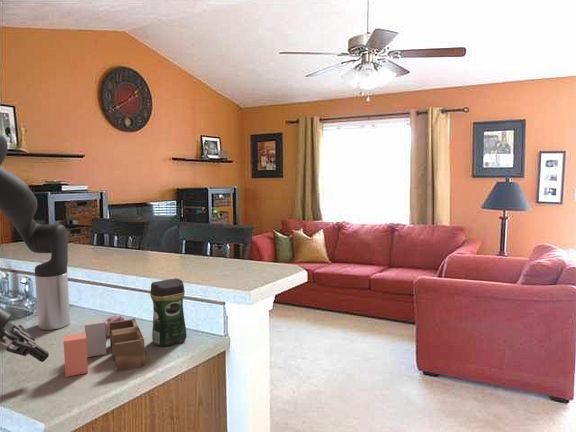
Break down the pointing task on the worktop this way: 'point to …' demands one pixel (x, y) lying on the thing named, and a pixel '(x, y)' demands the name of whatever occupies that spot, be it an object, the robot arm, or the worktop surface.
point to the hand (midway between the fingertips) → (46, 357)
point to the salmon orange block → (75, 354)
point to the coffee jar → (168, 312)
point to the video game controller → (111, 319)
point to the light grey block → (95, 337)
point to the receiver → (127, 344)
